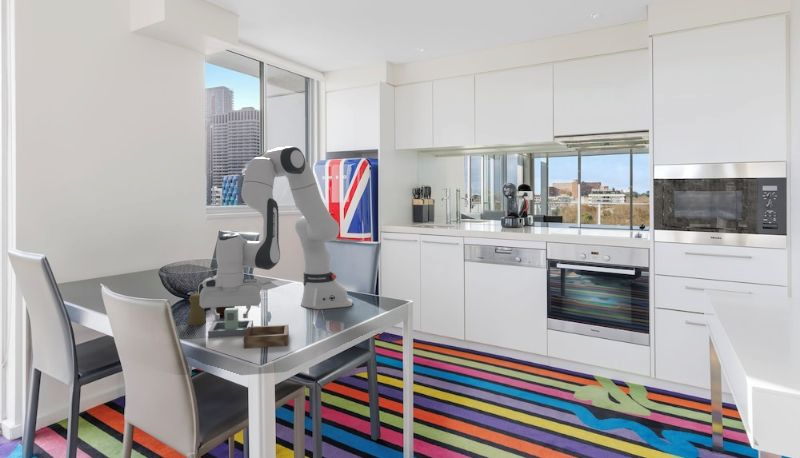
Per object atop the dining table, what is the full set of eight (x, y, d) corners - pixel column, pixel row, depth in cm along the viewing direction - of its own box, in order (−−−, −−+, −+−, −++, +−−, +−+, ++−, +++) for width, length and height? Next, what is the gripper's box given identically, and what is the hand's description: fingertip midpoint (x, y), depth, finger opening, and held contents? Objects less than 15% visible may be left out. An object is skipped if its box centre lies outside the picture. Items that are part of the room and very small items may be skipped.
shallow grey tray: (253, 325, 166) (253, 319, 165) (249, 335, 155) (249, 329, 154) (214, 327, 163) (214, 321, 163) (208, 337, 152) (208, 331, 152)
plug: (238, 329, 161) (238, 307, 160) (236, 333, 157) (236, 310, 156) (226, 330, 160) (226, 308, 160) (224, 334, 156) (224, 311, 155)
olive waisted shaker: (200, 319, 173) (199, 291, 172) (209, 322, 169) (208, 293, 168) (185, 323, 168) (184, 294, 167) (194, 326, 164) (193, 296, 163)
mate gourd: (216, 320, 172) (215, 281, 171) (214, 315, 179) (213, 278, 178) (237, 318, 175) (236, 280, 174) (234, 313, 182) (233, 276, 181)
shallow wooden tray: (288, 334, 156) (288, 324, 156) (287, 345, 145) (287, 334, 144) (248, 336, 153) (247, 326, 153) (243, 348, 142) (243, 337, 142)
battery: (203, 311, 184) (202, 284, 183) (197, 310, 186) (196, 283, 185) (218, 308, 190) (217, 281, 189) (212, 306, 192) (212, 280, 191)
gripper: (262, 277, 162) (262, 314, 164) (201, 279, 158) (202, 317, 159) (260, 280, 156) (261, 319, 157) (197, 282, 152) (198, 322, 153)
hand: (231, 318), depth 158 cm, fingers open, 8 cm apart
